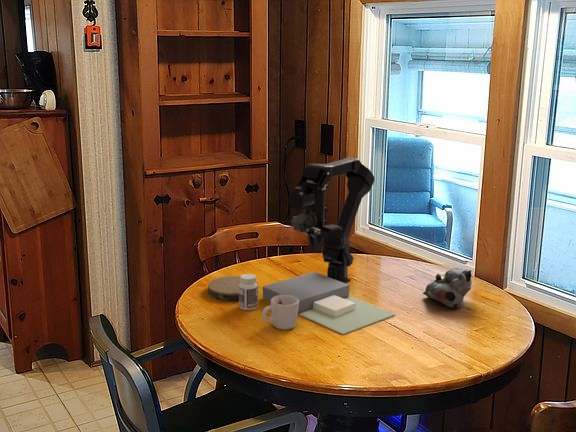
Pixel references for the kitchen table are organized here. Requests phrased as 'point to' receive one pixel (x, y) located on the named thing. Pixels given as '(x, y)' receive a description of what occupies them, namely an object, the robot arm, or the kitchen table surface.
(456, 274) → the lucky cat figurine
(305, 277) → the gray rectangular block
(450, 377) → the kitchen table surface
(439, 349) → the kitchen table surface
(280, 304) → the cup
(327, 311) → the ceramic tile
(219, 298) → the grey brown round disc
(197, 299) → the kitchen table surface
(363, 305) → the rubber mat
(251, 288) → the pill bottle
